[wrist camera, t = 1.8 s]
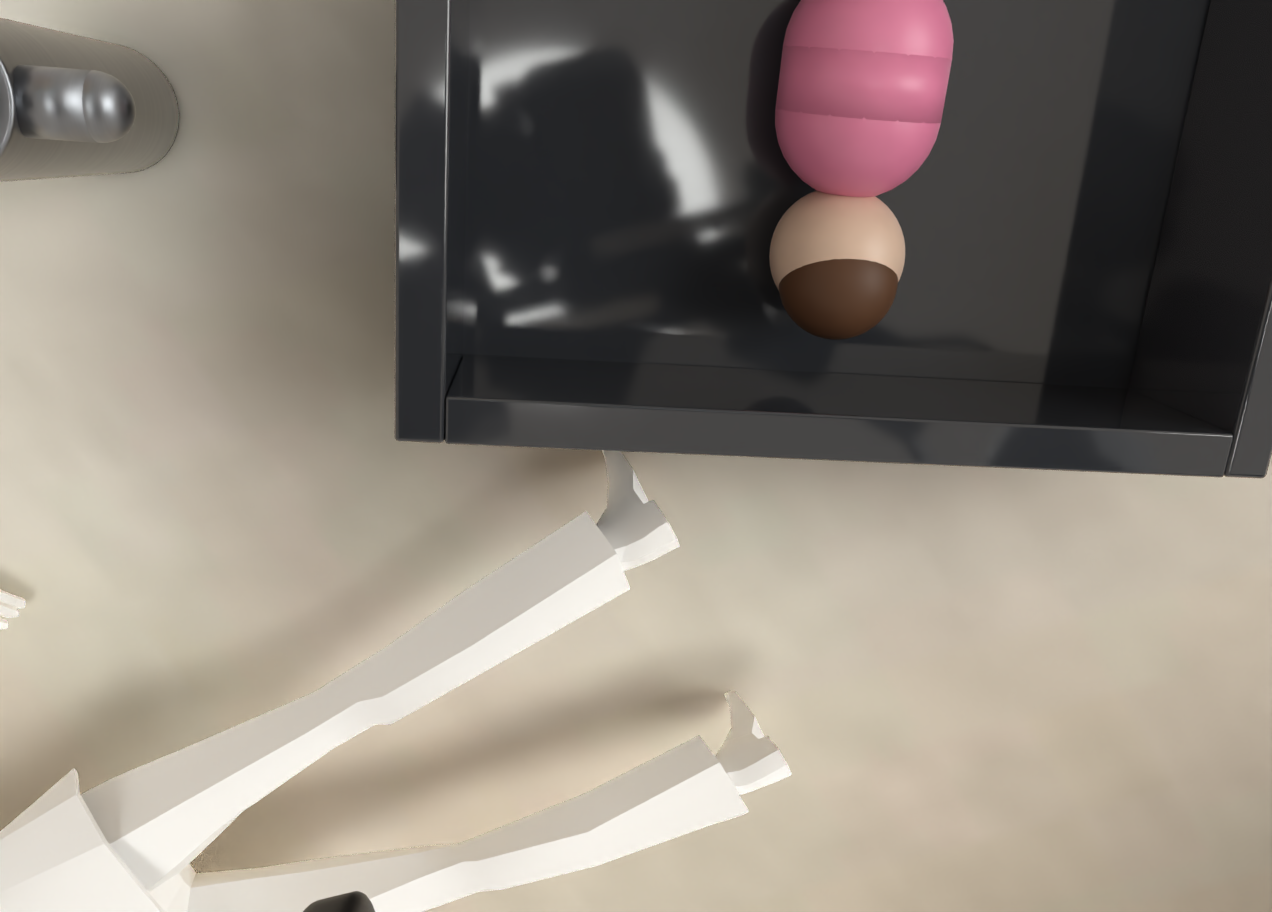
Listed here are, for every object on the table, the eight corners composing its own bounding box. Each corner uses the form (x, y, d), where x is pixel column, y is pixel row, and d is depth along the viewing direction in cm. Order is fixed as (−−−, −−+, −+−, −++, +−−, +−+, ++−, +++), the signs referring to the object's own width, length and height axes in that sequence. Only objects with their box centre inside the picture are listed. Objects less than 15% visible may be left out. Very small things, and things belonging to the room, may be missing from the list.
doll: (790, -147, 17) (831, -180, 15) (950, -129, 17) (1019, -161, 15) (738, 311, 20) (765, 350, 17) (876, 319, 20) (923, 358, 18)
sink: (1274, -202, 18) (1469, -295, 14) (1138, 419, 22) (1267, 480, 18) (430, -297, 17) (394, -429, 13) (424, 385, 20) (394, 442, 16)
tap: (249, 55, 18) (89, 7, 12) (253, 181, 19) (105, 200, 13) (9, 35, 18) (-283, -24, 12) (22, 166, 18) (-249, 177, 12)
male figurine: (523, 284, 22) (-650, 874, 19) (568, 309, 16) (-1108, 1160, 13) (766, 773, 26) (-178, 1309, 23) (874, 937, 20) (-372, 1674, 18)
